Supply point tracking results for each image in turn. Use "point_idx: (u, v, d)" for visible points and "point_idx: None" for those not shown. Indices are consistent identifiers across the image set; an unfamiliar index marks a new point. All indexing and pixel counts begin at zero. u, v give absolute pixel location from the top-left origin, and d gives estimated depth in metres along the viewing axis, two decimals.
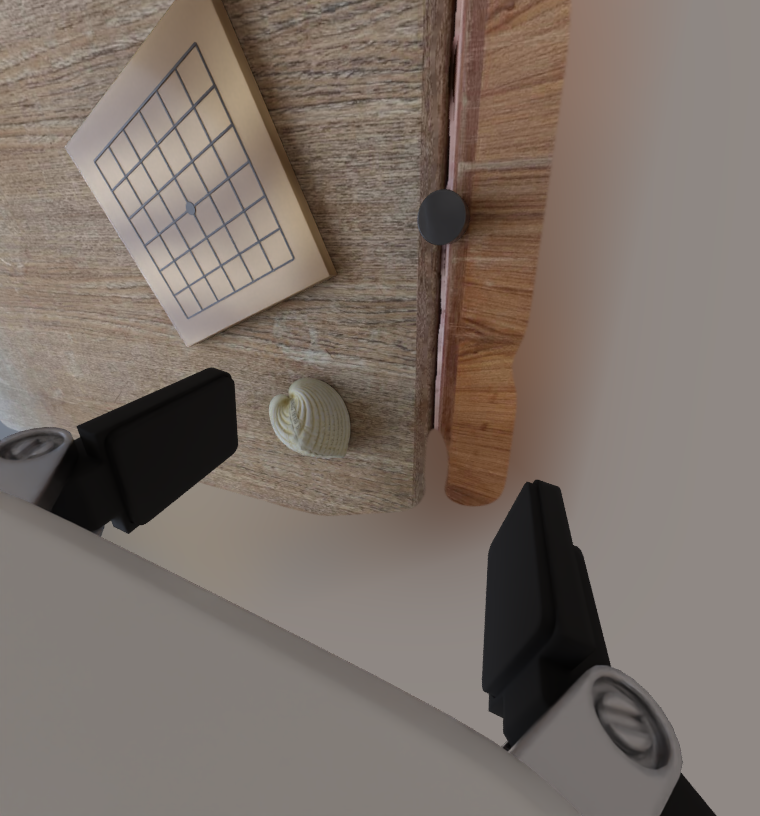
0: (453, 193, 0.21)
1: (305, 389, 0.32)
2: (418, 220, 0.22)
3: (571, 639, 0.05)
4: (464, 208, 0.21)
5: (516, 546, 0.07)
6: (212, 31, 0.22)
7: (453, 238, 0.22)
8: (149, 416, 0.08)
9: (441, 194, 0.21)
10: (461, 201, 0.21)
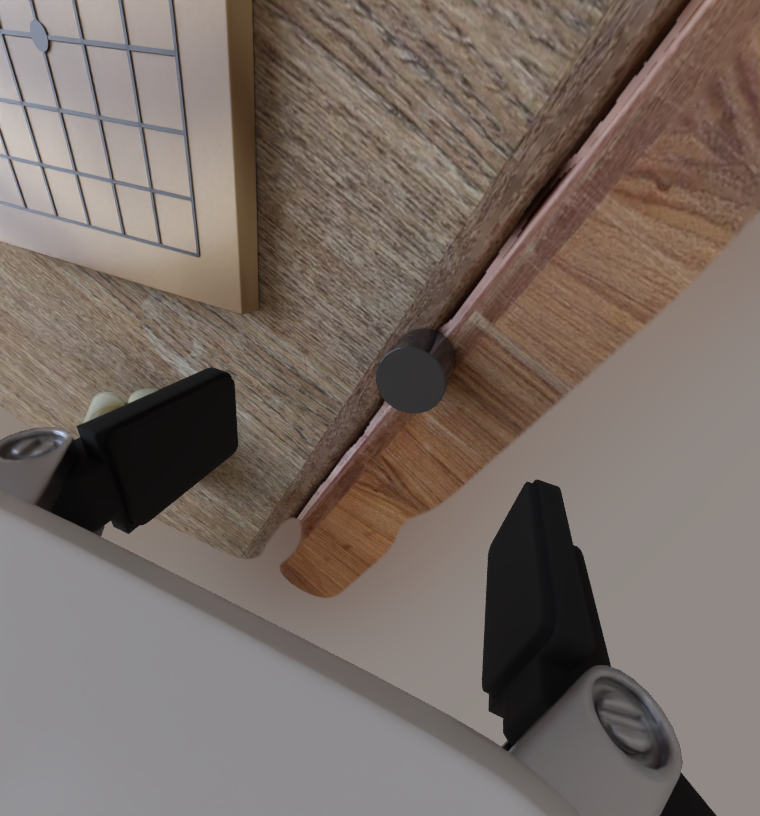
0: (440, 370, 0.14)
1: None
2: (381, 362, 0.14)
3: (571, 639, 0.05)
4: (442, 394, 0.14)
5: (516, 546, 0.07)
6: None
7: (410, 412, 0.15)
8: (149, 416, 0.08)
9: (426, 359, 0.14)
10: (444, 385, 0.14)
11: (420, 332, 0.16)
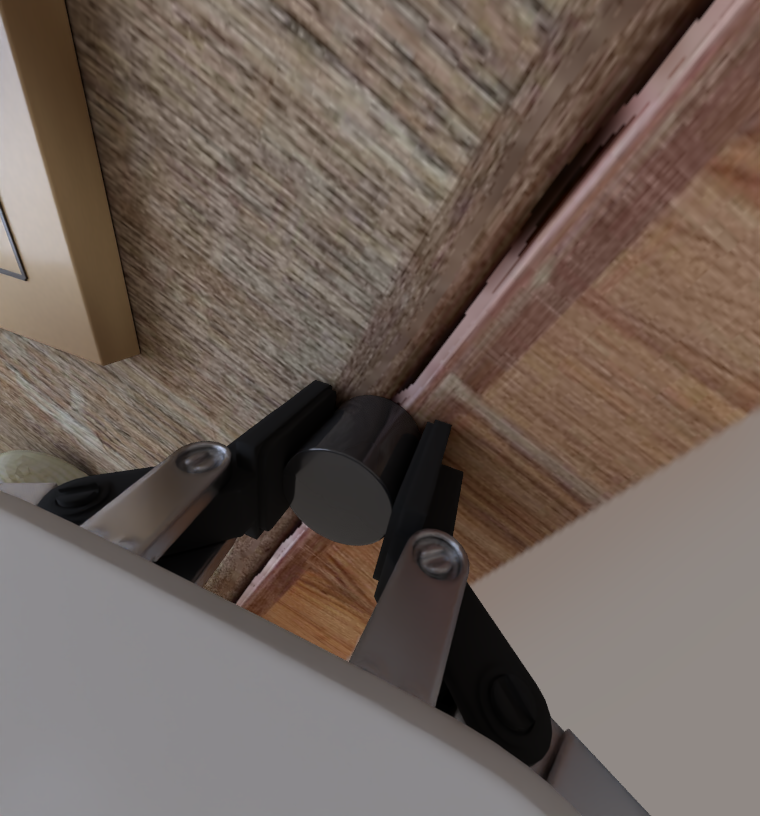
0: (383, 491, 0.08)
1: None
2: (287, 467, 0.08)
3: (411, 511, 0.07)
4: None
5: None
6: None
7: (341, 542, 0.09)
8: (286, 430, 0.08)
9: (357, 472, 0.08)
10: None
11: (362, 405, 0.10)
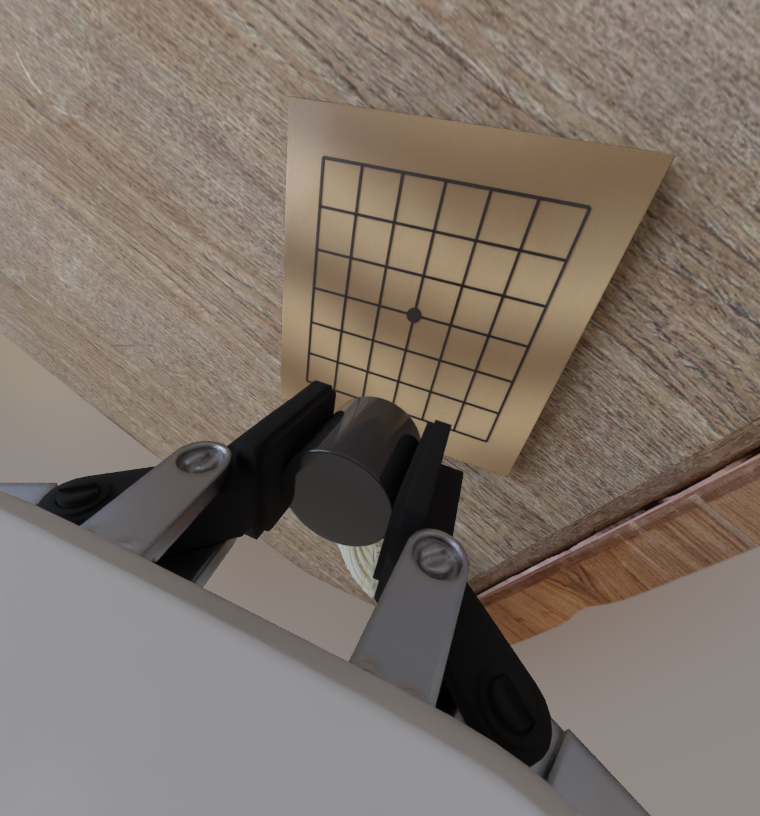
0: (383, 492, 0.08)
1: None
2: (287, 469, 0.08)
3: (411, 510, 0.07)
4: None
5: None
6: (621, 220, 0.16)
7: (342, 543, 0.09)
8: (286, 429, 0.08)
9: (357, 473, 0.08)
10: None
11: (362, 407, 0.10)
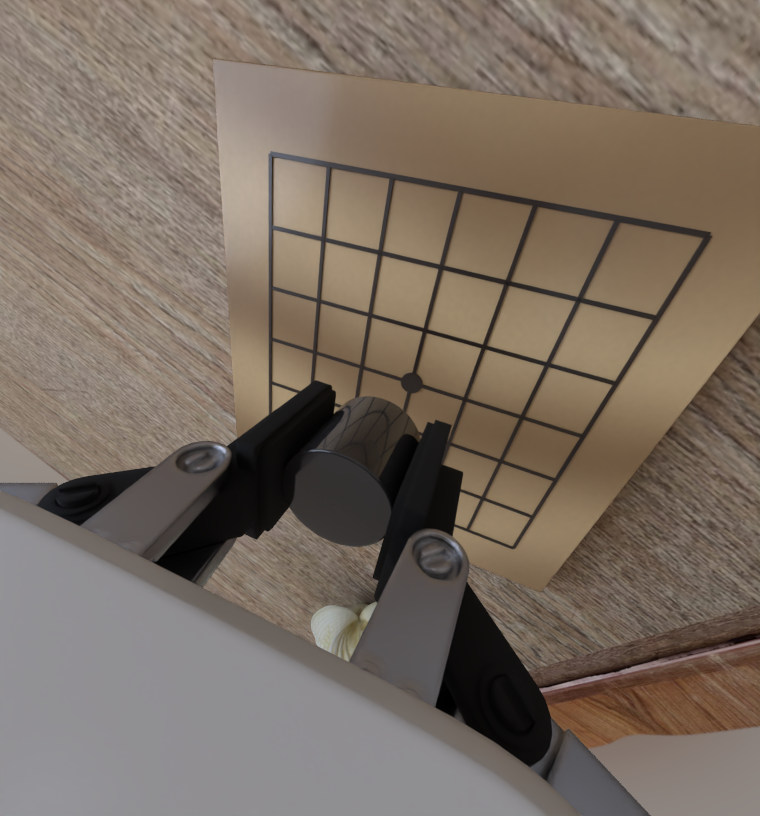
0: (382, 492, 0.08)
1: None
2: (286, 469, 0.08)
3: (411, 510, 0.07)
4: None
5: None
6: None
7: (341, 543, 0.09)
8: (286, 429, 0.08)
9: (357, 473, 0.08)
10: None
11: (361, 406, 0.10)
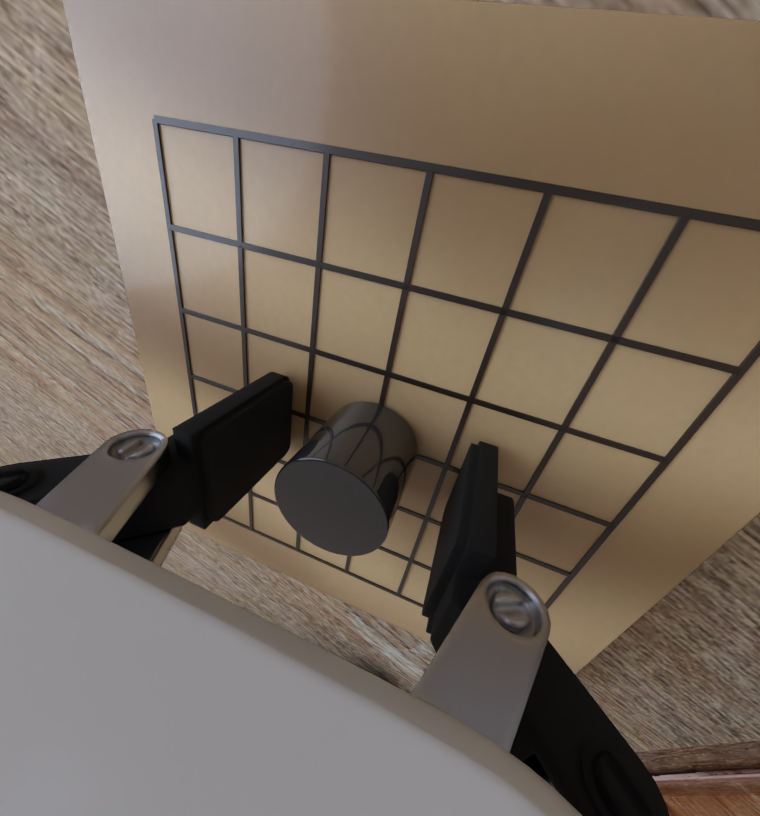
0: (377, 502, 0.07)
1: None
2: (279, 477, 0.08)
3: (477, 551, 0.06)
4: (384, 536, 0.08)
5: (457, 496, 0.09)
6: None
7: (336, 552, 0.09)
8: (230, 419, 0.08)
9: (350, 482, 0.07)
10: (385, 523, 0.08)
11: (357, 412, 0.09)
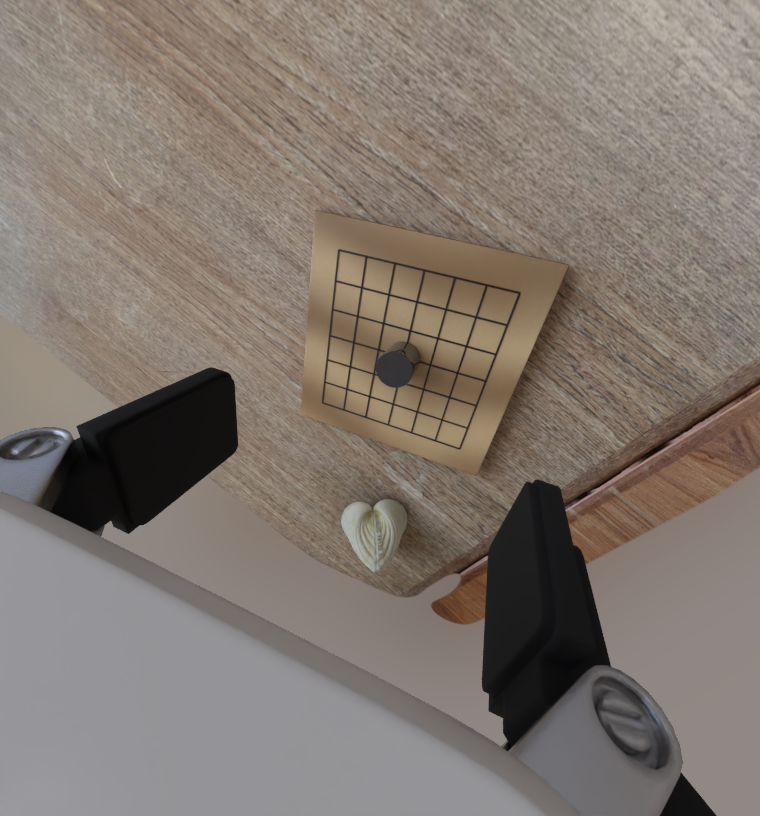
0: (409, 363, 0.26)
1: (393, 518, 0.37)
2: (378, 359, 0.27)
3: (571, 639, 0.05)
4: (411, 376, 0.27)
5: (516, 546, 0.07)
6: (540, 302, 0.24)
7: (394, 387, 0.28)
8: (149, 416, 0.08)
9: (402, 357, 0.26)
10: (411, 371, 0.27)
11: (400, 343, 0.28)
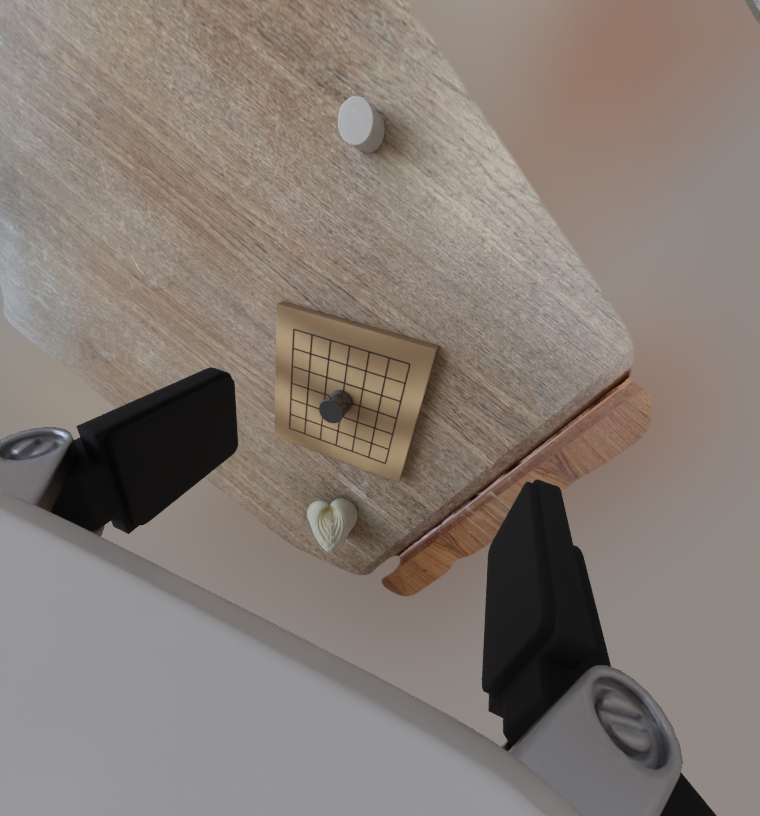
0: (340, 408, 0.39)
1: (343, 512, 0.50)
2: (320, 405, 0.40)
3: (571, 639, 0.05)
4: (342, 416, 0.39)
5: (516, 546, 0.07)
6: (422, 370, 0.37)
7: (332, 422, 0.40)
8: (149, 416, 0.08)
9: (335, 404, 0.39)
10: (342, 413, 0.39)
11: (337, 392, 0.41)
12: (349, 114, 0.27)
